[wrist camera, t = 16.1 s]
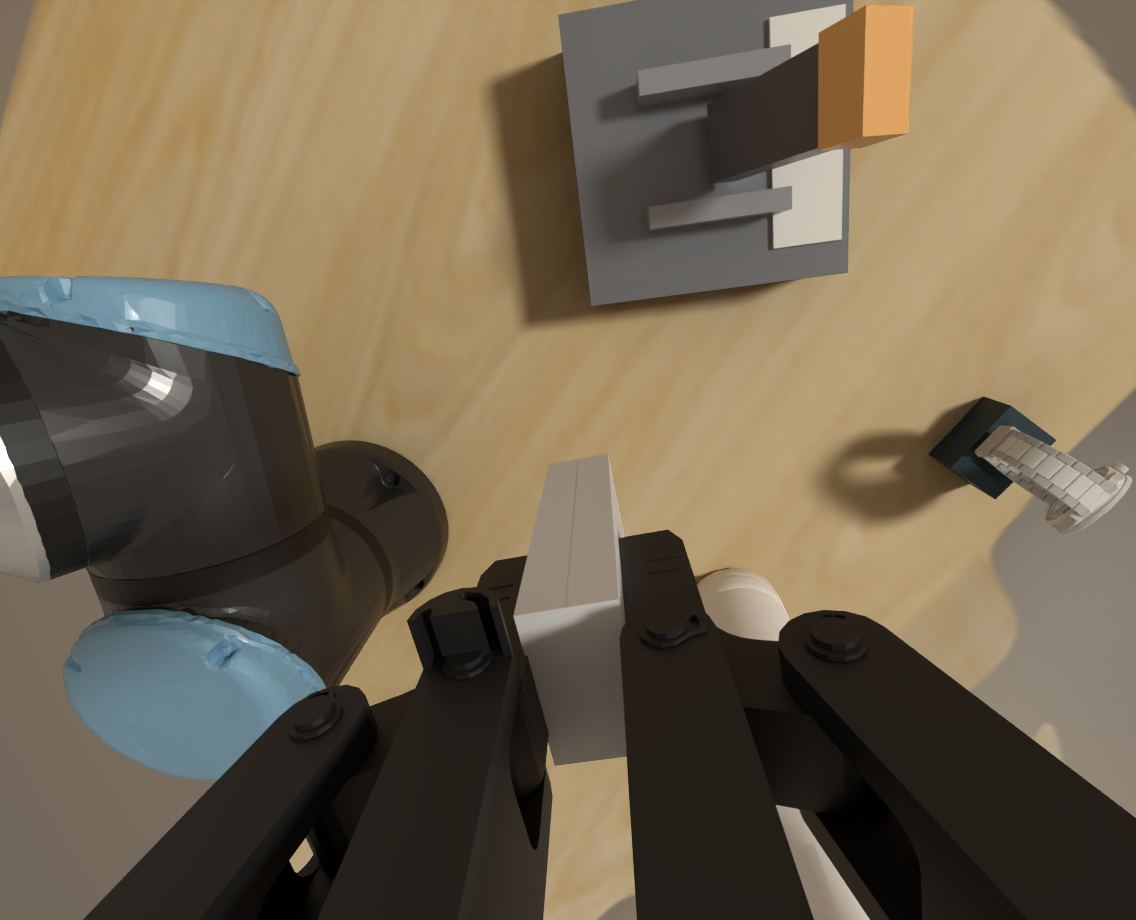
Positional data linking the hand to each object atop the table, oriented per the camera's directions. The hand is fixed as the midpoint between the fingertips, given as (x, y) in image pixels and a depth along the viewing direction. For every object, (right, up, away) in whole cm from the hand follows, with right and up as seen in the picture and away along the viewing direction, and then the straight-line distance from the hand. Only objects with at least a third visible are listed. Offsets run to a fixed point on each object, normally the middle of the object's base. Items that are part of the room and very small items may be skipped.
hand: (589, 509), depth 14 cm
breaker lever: (+8, +19, +19) cm, 28 cm away
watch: (+31, +3, +29) cm, 43 cm away
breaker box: (+8, +21, +25) cm, 34 cm away
